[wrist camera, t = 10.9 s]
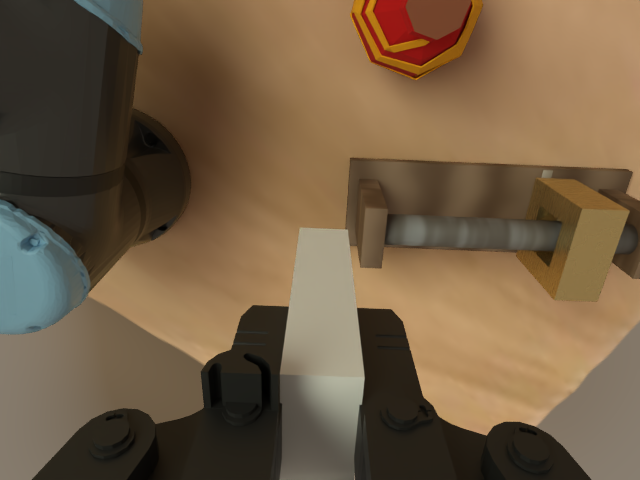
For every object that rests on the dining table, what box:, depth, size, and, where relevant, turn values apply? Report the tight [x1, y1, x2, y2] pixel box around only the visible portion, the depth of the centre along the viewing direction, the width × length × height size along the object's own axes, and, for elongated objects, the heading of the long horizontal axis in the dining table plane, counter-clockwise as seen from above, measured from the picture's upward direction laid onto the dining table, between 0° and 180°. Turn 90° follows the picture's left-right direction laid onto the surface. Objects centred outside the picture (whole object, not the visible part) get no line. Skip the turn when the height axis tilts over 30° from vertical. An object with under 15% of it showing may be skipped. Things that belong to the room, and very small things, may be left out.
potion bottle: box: [350, 0, 483, 80], centre depth 35 cm, size 10×10×15 cm
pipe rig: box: [345, 158, 640, 279], centre depth 45 cm, size 30×10×10 cm, turn 88°
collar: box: [516, 178, 630, 302], centre depth 43 cm, size 4×9×9 cm, turn 178°
